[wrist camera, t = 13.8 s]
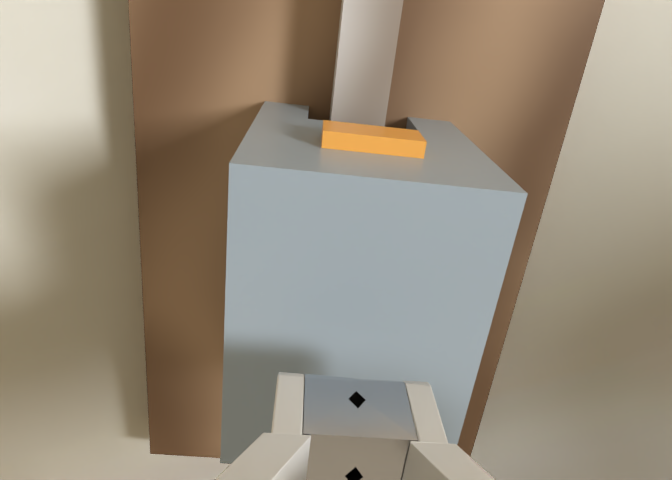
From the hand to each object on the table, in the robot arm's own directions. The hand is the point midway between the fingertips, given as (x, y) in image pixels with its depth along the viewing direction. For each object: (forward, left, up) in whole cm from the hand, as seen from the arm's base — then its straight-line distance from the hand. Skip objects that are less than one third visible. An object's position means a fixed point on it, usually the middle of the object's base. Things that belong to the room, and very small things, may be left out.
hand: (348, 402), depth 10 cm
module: (0, 0, -9) cm, 9 cm away
